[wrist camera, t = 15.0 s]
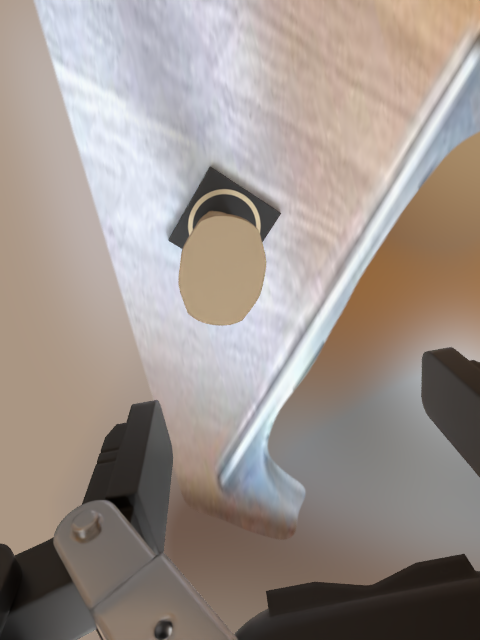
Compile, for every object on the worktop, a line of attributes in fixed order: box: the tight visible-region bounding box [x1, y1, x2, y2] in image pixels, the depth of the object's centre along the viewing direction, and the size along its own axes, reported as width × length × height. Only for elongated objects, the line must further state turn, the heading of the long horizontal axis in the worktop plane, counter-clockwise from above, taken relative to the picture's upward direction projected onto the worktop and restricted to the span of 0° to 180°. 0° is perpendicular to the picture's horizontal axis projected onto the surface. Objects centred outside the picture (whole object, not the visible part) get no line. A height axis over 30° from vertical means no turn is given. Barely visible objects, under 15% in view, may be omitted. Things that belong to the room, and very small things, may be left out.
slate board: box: [169, 167, 281, 249], centre depth 37 cm, size 8×8×1 cm
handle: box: [179, 211, 266, 325], centre depth 30 cm, size 5×6×15 cm
